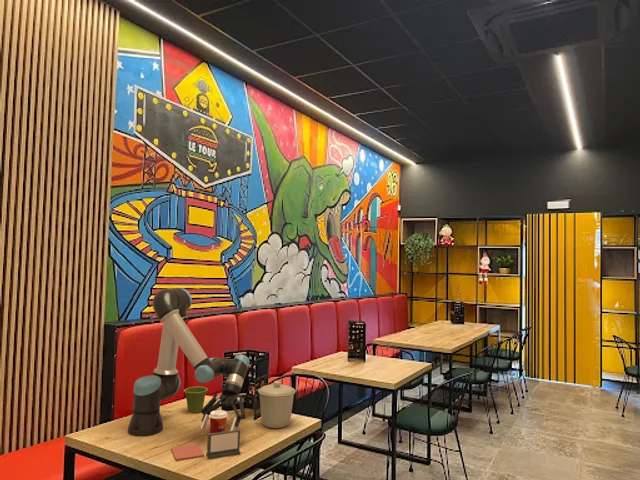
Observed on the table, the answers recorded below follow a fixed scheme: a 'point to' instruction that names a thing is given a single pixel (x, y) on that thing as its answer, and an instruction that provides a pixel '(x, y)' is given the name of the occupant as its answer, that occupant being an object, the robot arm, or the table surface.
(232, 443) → the menu holder
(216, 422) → the paper cup
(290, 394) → the canister
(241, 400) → the robot arm
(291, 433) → the table surface
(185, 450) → the coaster
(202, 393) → the plant pot
